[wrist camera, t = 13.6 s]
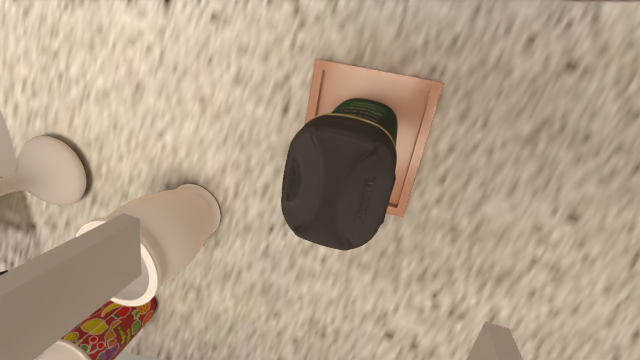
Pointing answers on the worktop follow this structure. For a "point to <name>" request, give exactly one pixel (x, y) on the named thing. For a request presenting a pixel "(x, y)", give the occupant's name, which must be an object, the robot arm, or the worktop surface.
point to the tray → (397, 93)
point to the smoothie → (102, 333)
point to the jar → (165, 236)
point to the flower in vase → (47, 172)
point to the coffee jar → (341, 174)
